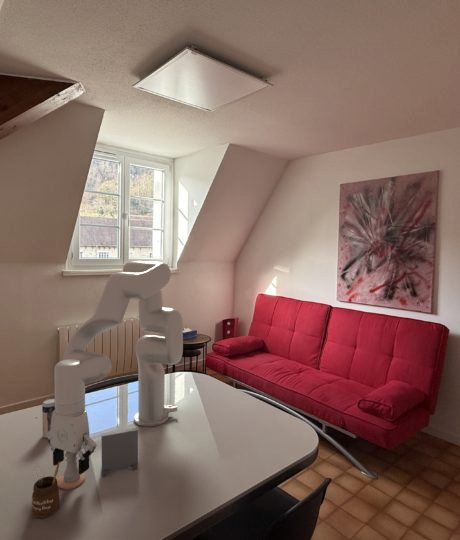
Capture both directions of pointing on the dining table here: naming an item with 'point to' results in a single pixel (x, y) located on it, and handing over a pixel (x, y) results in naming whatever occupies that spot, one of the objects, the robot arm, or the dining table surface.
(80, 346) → the robot arm
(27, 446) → the dining table surface
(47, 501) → the utensil holder
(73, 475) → the rook chess piece
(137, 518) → the dining table surface
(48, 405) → the beer can
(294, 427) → the dining table surface
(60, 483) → the pink round domed part
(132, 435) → the grey upright panel
